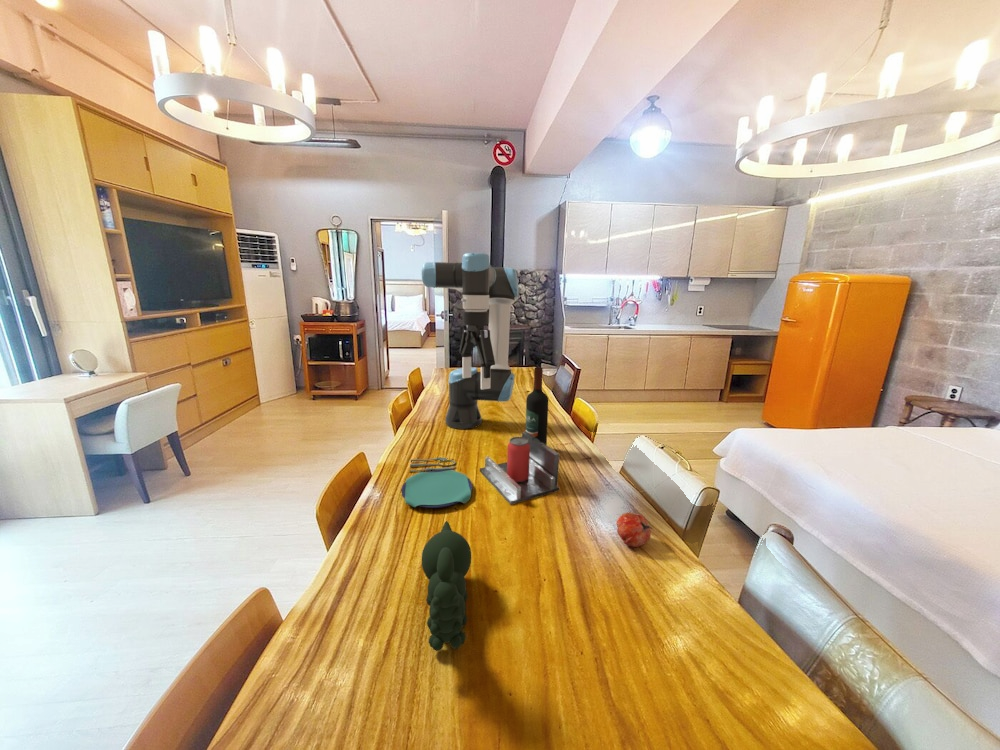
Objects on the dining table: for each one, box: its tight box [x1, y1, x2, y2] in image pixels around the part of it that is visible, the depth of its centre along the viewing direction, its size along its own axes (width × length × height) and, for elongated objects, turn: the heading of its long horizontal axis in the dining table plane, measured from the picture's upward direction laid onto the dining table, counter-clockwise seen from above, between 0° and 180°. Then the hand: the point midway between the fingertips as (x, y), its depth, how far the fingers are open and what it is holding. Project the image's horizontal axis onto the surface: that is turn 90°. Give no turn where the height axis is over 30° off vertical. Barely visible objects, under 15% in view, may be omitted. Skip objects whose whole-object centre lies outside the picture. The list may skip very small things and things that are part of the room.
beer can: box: [506, 436, 530, 482], centre depth 110 cm, size 7×7×12 cm
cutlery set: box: [400, 456, 473, 509], centre depth 109 cm, size 20×30×2 cm, turn 12°
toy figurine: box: [421, 520, 472, 652], centre depth 66 cm, size 9×19×25 cm
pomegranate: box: [615, 511, 653, 548], centre depth 85 cm, size 7×7×10 cm
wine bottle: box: [525, 366, 549, 446], centre depth 128 cm, size 8×8×30 cm
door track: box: [479, 431, 560, 506], centre depth 110 cm, size 20×16×11 cm
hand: (475, 382), depth 110 cm, fingers open, 13 cm apart
